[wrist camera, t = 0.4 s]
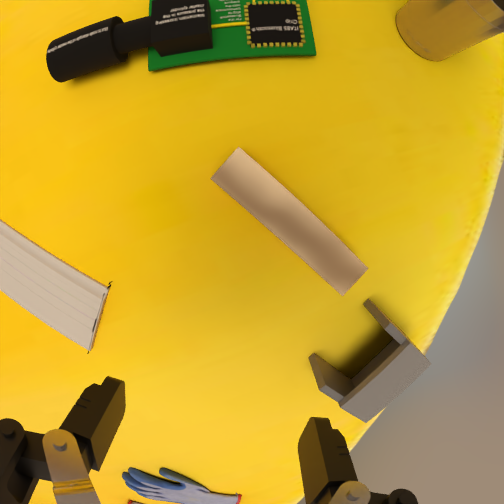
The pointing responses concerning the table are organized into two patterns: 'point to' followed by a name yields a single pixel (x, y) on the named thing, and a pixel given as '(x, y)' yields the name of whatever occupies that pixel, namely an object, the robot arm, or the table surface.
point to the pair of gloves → (173, 489)
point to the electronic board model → (187, 35)
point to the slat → (289, 220)
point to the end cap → (373, 373)
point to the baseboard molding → (50, 287)
